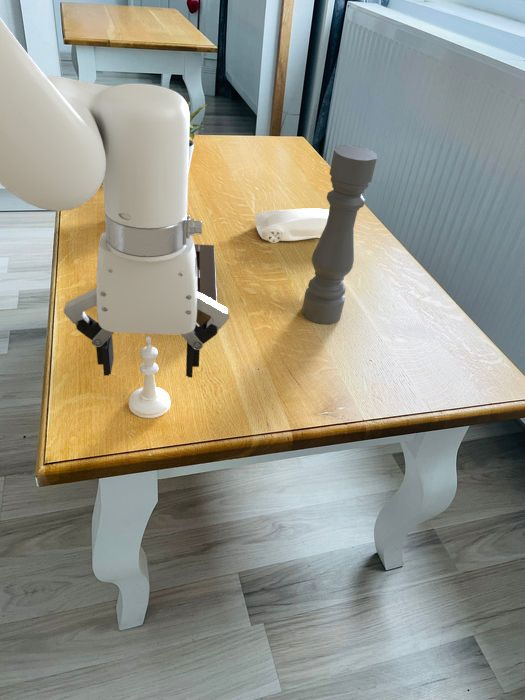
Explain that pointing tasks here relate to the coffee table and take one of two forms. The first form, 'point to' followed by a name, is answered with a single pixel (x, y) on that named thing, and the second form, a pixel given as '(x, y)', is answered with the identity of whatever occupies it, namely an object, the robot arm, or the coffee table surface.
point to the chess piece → (149, 388)
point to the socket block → (205, 276)
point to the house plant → (191, 134)
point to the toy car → (291, 224)
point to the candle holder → (338, 233)
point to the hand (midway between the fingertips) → (149, 368)
